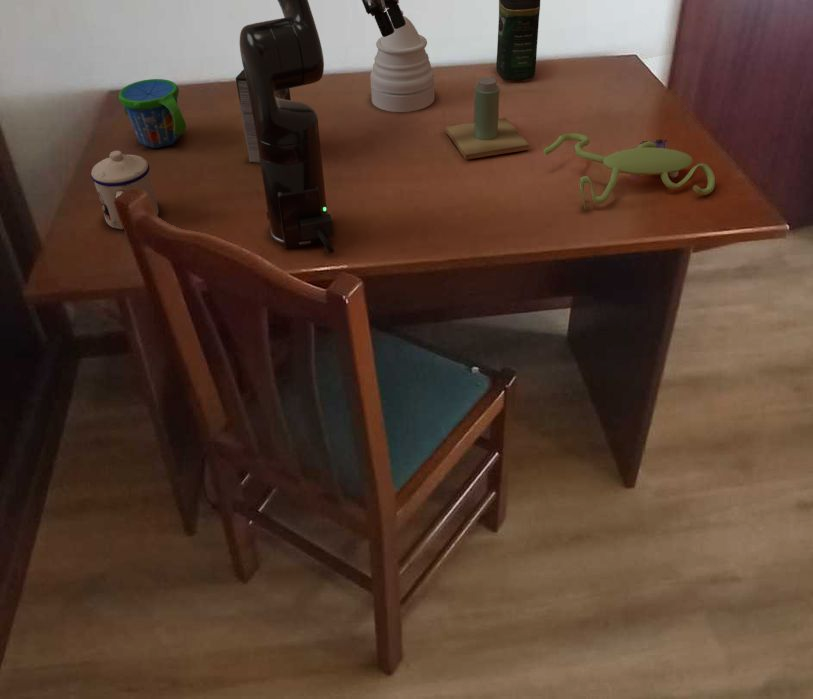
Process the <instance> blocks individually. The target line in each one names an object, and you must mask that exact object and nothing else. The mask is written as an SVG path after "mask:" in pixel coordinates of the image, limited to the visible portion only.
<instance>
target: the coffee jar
mask: <svg viewBox="0 0 813 699" xmlns="http://www.w3.org/2000/svg"><path fill="white" fill-rule="evenodd" d="M540 11H541V0H498V26H497V44H496V45H497V46H496V47H497V48H496V63H495V64H496V66H495V67H496V68H495V69H496V71H497V74H498V75H499V77H500V78H501V79H502V80H503V81H511V82H516V83H520V82H521V83H522V82H525V81H528V80H531V79H534V78H535V76H536V71H537V70H536V69H537V56H538V55H537V52H538V41H539V40H538V39H539V27H540V26H539V24H540V23H539V21H540Z"/></svg>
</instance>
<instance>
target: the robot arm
mask: <svg viewBox="0 0 813 699" xmlns="http://www.w3.org/2000/svg"><path fill="white" fill-rule="evenodd" d="M277 2H278V4H279V7H280V10H281V12H282V14H283V17H281V18H275V19H271V20H265V21H259V22H254V23H250V24H247V25H245V26H243V27H242V29H240V34H239V42H238V43H239V44H238V45H239V52H240V58H241V63H242V68H243V69H244V73H245V77H246V82H247V87H248V92H249V97H250V103H251V109H252V114H253V119H254V124H255V130H256V137H257V143H258V150H259V157H260V163H259V164H260V169H261V170H260V171H261V176H262V183H263V189H264V195H265V201H266V208H267V212H266V216H267V220H268V221H269V226H270V228H269V231H270V236H271V239H272V240H273V241H274V242H276V243H277V244H280V245H282V246H284V248H285V249H286V250H289V249H295V248H300V247H306V246H313V245H318V244H323V246H324V248H325V249H326V251H327V252H328V253H329V254H333V253H334V252H335V249H334V247H333V246H332V244H331V243H330V241H329V240H328V238H327V237H330V236H331V237H332V236H335V232H334V230H335V229H334V220H333V218H332V215H331V213H328V206H327V197H326V187H325V178H324V168H323V158H322V149H321V139H320V138H321V137H320V130H319V129H320V128H319V118H318V115H317V112H316V110H315V109H314V108H313V107H312V106H311V105H308V103H307V104H306V103H304V102H301V101H297V100H291V101H290V100H285V99H281V98H278V97H276V96H275V92H276V91H278V90H284V89H288V88H289V89H292V88H297V87H302V86H306V85H310V84H315V83H317V82H319V81H321V79H322V78H323V75H324V70H325V60H324V53H323V48H322V43H321V39H320V36H319V32H318V29H317V24H316V22H315V18H314V15H313V13H312V9H311V5H310V3H309V0H277ZM361 2H362V4H363V7H364V9H365V12H366V13H367V15H371V17H373V18H374V21H375V23H376V25H377V27H378V29H379V32H380V34H381V37H382V36H383V37H386V36H388V35H391V34H393V33H394V28H395V29H398V28H400V27H402V26H404V25H405V24H406V22H405V19H404V17H403V16H404V13H403V14H402V12H401V8H400V5H399V3H400V0H361ZM391 22H392V23H391ZM392 24H393V25H392ZM393 27H394V28H393Z"/></svg>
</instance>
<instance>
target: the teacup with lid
mask: <svg viewBox="0 0 813 699" xmlns="http://www.w3.org/2000/svg"><path fill="white" fill-rule="evenodd" d="M90 178H91V180H92V181H93V183H94V186H95V189H96V192H97V196H98V199H99V202H100V205H101V209H102V214H103V216H104V220H105V222H106V224H107V225H108V226H110V228H114V229H117V230H122V231H123V227H122V225H121V222H120V220H119V217H118V214H117V211H116V208H115V204H114V201H115V198H117V197H118V196H120V195H121V194H122V193H124V192H125V191H127V190H130V189H141V190H144V191H146V192H147V193H148V194H149V197H150V200H151V203H152V206H153V208H154V210H155V212H156V214H157V217H158V216H159V206H158V201H157V198H156V193H155V190H154V186H153V181H152V177H151V173H150V164H149V163H148V161H147V160H146V159H145V158H143V157H142V156H140V155H136V154H124V153H123V152H122V151H120V150H113V151H111V152H110V153H109V157H106V158H103V159H102V160H100V161H99V162H97V163H95V165H94V166H93V167H92V169H91V173H90Z"/></svg>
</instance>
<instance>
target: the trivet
mask: <svg viewBox="0 0 813 699" xmlns="http://www.w3.org/2000/svg"><path fill="white" fill-rule="evenodd" d="M445 132H446V134H447V135H448V136H449V138H450V139H451V141H452V142H453V143H454V145H455V146H456V148H457V149H458V151H459V152H460V154H461V155H462V156H463V158H464V159H465V160H474V159H478V158H485V157H490V156H497V155H503V154H509V153H515V152H522V151H528V150H529V149H530V144H529V143H528V142H527V140H526V139H525V138H524V137H523V136H522V135H521V134H520V132H519V131H518V130H517V129H516V127H514V126H513V124H512V123H511V122H510V121H509V120H508V118H507V117H499V118H498V136H497V137H496V138H495V139H492V140H480V139H477V138H475V136H474V122H467V123H461V124H456V125H454V124H453V125H449V126H445Z"/></svg>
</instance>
